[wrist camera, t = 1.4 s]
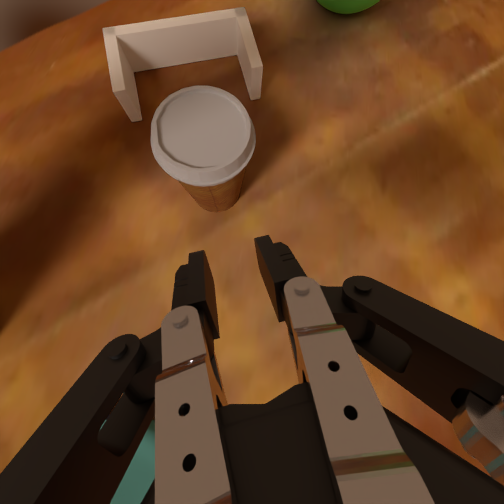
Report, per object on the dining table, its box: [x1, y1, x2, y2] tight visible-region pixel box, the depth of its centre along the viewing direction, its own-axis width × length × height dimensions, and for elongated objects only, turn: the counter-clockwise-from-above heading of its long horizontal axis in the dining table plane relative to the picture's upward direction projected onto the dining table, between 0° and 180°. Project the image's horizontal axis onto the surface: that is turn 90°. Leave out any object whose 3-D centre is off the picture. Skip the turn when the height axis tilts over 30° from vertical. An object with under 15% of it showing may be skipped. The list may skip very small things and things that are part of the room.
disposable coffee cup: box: [151, 86, 256, 212], centre depth 26 cm, size 10×10×12 cm
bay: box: [102, 7, 263, 122], centre depth 33 cm, size 19×10×5 cm, turn 104°
